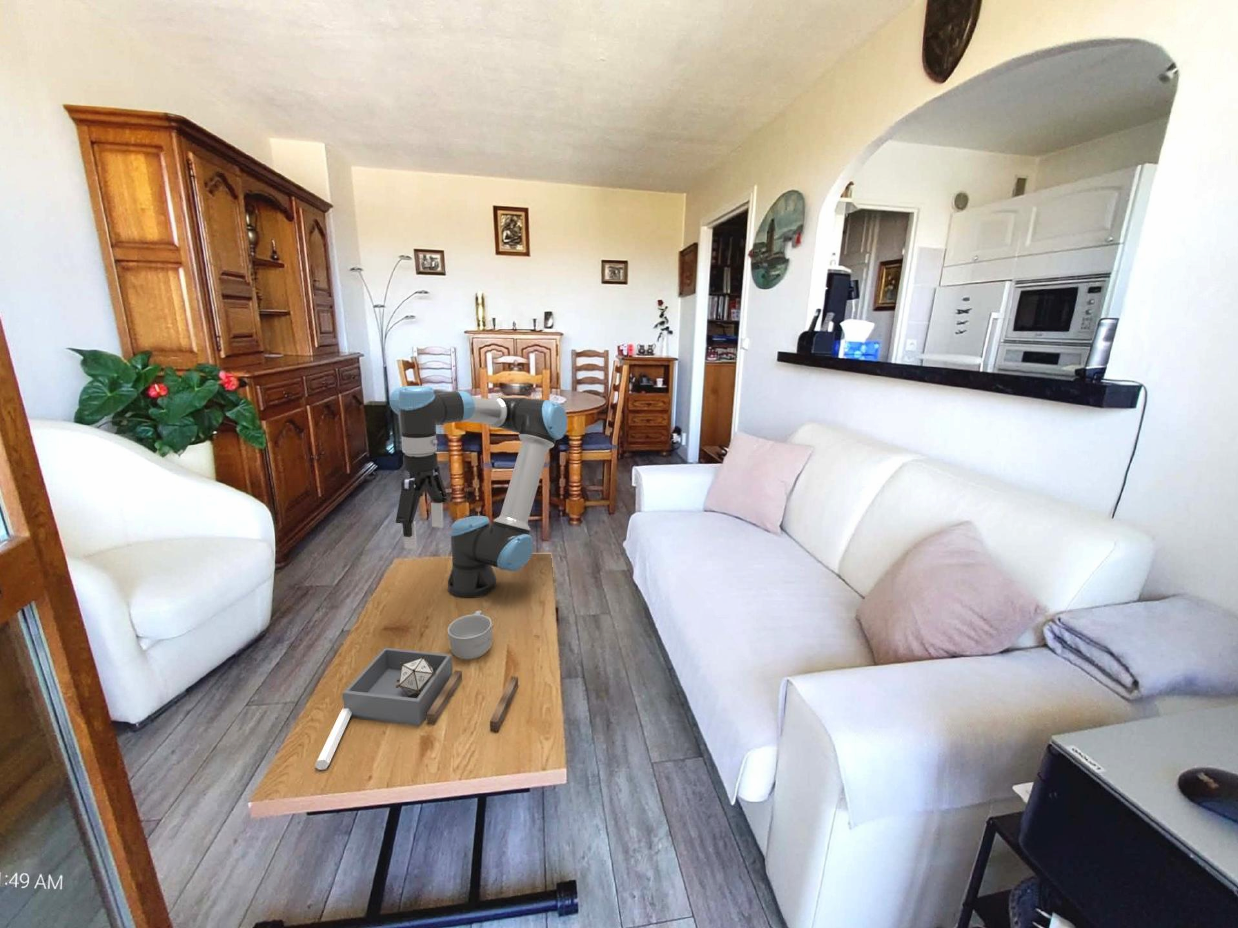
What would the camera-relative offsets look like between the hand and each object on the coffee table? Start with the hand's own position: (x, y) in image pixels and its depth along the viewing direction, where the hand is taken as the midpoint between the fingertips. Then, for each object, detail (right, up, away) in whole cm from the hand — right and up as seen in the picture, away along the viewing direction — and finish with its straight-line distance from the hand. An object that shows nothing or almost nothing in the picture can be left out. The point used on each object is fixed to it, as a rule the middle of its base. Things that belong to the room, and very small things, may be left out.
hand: (425, 537), depth 120 cm
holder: (+16, -35, -12) cm, 40 cm away
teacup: (+10, -31, +8) cm, 33 cm away
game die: (0, -33, -10) cm, 34 cm away
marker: (-9, -37, -22) cm, 44 cm away
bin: (-1, -34, -10) cm, 36 cm away
